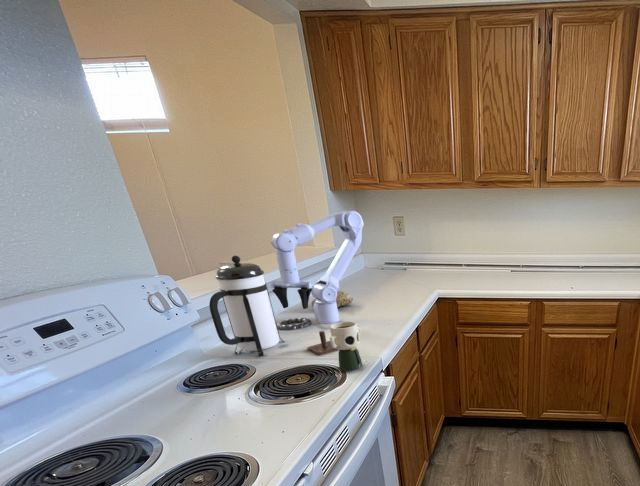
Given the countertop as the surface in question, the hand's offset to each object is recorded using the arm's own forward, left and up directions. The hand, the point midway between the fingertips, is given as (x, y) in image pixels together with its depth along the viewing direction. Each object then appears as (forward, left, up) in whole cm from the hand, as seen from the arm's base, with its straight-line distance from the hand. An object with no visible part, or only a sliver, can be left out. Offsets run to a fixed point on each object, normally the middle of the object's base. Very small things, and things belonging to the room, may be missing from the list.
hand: (295, 307), depth 150 cm
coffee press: (+10, -18, -9) cm, 23 cm away
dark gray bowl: (-5, 0, -7) cm, 9 cm away
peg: (+26, -4, -9) cm, 28 cm away
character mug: (+48, -7, -9) cm, 49 cm away
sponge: (-20, +23, -9) cm, 32 cm away
